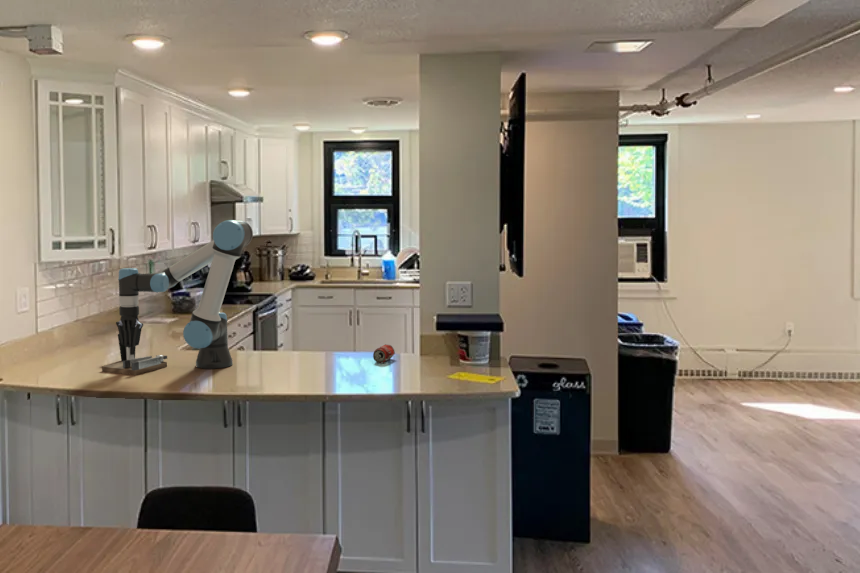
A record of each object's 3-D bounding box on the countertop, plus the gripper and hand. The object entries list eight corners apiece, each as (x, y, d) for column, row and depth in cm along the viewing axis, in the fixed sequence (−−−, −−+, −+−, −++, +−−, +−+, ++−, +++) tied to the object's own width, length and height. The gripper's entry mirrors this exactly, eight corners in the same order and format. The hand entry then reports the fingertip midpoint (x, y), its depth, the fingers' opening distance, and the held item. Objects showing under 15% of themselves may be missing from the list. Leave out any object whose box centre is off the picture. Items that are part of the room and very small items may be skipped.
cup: (130, 362, 332) (129, 335, 331) (115, 361, 334) (114, 334, 332) (140, 359, 340) (139, 332, 338) (125, 358, 341) (124, 332, 340)
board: (167, 366, 323) (166, 362, 322) (135, 375, 306) (134, 370, 306) (135, 363, 330) (134, 358, 330) (102, 371, 313) (101, 366, 313)
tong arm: (152, 363, 319) (152, 356, 319) (125, 368, 309) (124, 361, 308) (150, 362, 320) (150, 355, 320) (123, 368, 309) (122, 360, 309)
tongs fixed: (169, 361, 324) (169, 354, 323) (134, 370, 305) (134, 363, 305) (162, 360, 325) (162, 353, 325) (127, 369, 307) (127, 362, 307)
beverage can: (371, 363, 329) (371, 348, 328) (380, 358, 340) (379, 343, 339) (386, 364, 327) (386, 349, 326) (395, 359, 338) (395, 344, 338)
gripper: (147, 305, 311) (149, 362, 314) (124, 303, 317) (125, 359, 319) (134, 307, 305) (135, 365, 307) (110, 305, 310) (111, 362, 312)
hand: (130, 362), depth 313 cm, fingers closed
